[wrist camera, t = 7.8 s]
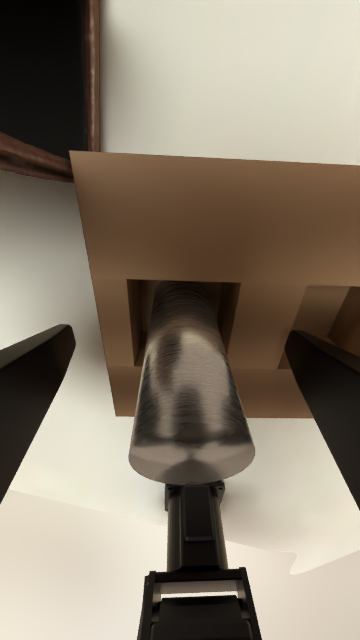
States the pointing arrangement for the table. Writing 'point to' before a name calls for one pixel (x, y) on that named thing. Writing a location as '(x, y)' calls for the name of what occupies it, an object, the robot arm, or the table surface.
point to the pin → (187, 395)
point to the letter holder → (48, 85)
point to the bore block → (223, 260)
